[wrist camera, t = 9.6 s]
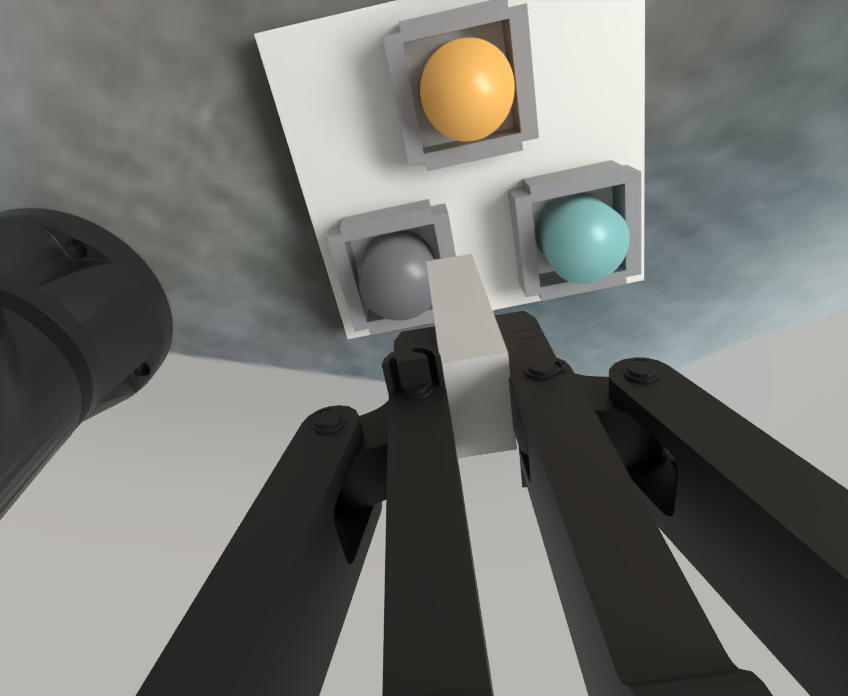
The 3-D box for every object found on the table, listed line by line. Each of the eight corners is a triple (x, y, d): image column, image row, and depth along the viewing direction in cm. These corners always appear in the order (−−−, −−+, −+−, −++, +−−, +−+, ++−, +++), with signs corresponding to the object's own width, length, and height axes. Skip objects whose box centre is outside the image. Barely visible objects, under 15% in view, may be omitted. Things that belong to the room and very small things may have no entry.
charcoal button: (372, 305, 38) (370, 327, 35) (353, 238, 36) (350, 255, 33) (440, 291, 38) (445, 312, 35) (427, 222, 35) (430, 239, 32)
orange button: (427, 140, 33) (430, 150, 30) (410, 49, 30) (412, 49, 27) (508, 123, 33) (519, 130, 30) (497, 29, 30) (508, 27, 27)
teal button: (539, 271, 37) (551, 291, 34) (532, 200, 35) (545, 215, 32) (610, 256, 37) (630, 275, 34) (608, 184, 35) (629, 197, 32)
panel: (349, 326, 42) (345, 354, 38) (261, 34, 32) (243, 32, 28) (633, 270, 40) (657, 292, 37) (630, -52, 31) (663, -67, 27)
